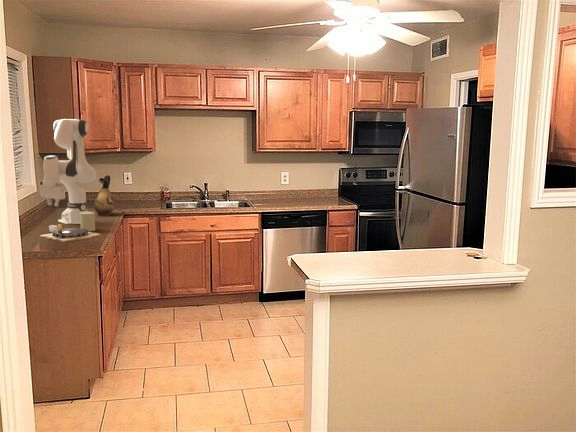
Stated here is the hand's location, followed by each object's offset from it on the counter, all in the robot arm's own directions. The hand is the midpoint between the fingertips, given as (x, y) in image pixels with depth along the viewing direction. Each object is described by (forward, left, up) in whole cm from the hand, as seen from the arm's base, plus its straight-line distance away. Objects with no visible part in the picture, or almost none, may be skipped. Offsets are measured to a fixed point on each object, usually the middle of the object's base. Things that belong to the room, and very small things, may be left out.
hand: (53, 205), depth 328 cm
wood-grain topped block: (-12, +8, -19) cm, 24 cm away
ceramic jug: (-40, +71, -19) cm, 83 cm away
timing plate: (+7, +6, -19) cm, 21 cm away
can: (-1, +25, -19) cm, 32 cm away
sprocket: (+7, +6, -18) cm, 20 cm away
